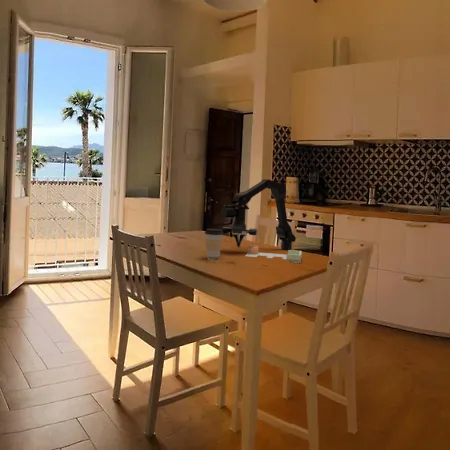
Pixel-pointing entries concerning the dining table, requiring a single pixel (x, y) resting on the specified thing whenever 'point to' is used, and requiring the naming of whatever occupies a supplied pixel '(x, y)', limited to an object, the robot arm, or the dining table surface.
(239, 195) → the robot arm
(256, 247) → the pink short cylinder
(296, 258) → the deck
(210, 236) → the coffee cup
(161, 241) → the dining table surface
